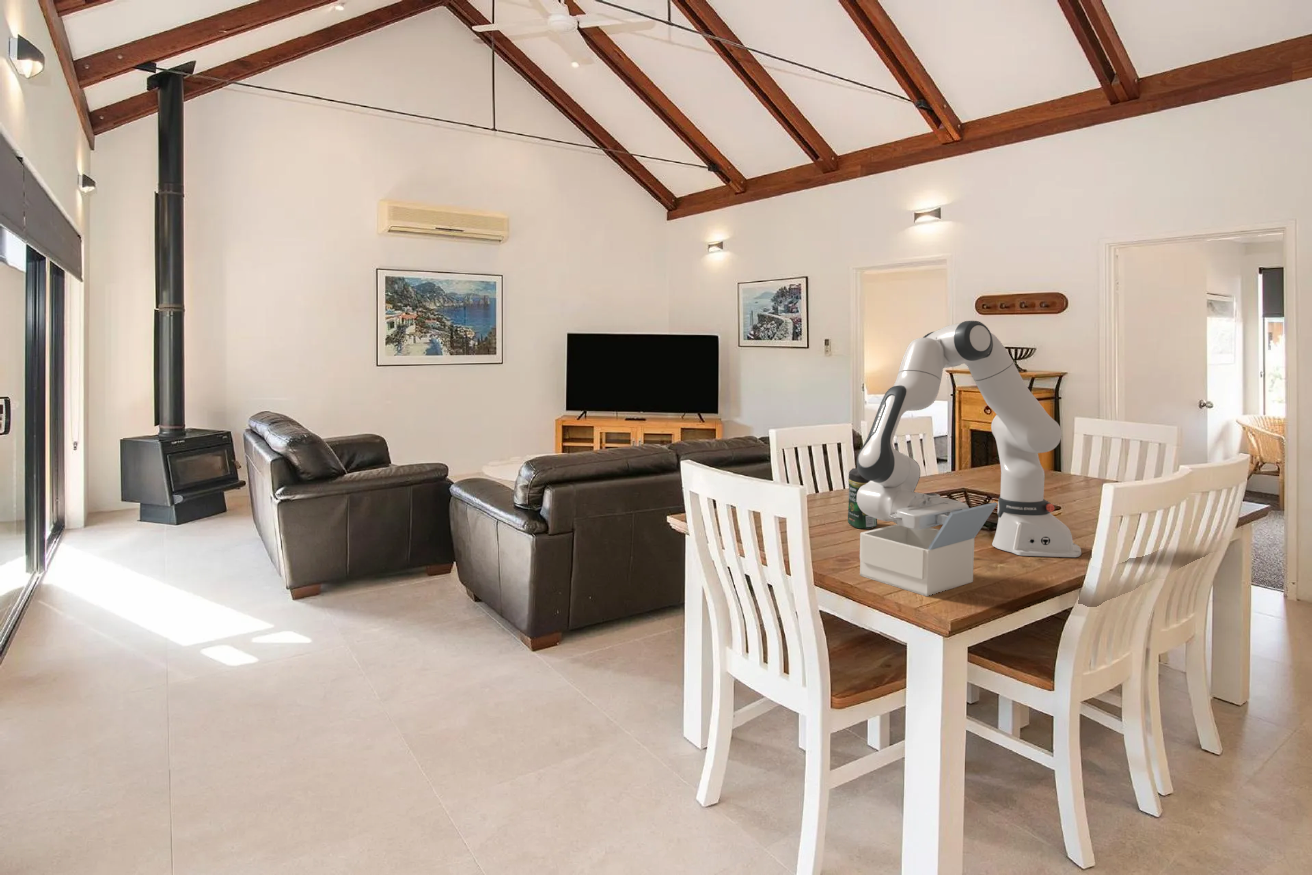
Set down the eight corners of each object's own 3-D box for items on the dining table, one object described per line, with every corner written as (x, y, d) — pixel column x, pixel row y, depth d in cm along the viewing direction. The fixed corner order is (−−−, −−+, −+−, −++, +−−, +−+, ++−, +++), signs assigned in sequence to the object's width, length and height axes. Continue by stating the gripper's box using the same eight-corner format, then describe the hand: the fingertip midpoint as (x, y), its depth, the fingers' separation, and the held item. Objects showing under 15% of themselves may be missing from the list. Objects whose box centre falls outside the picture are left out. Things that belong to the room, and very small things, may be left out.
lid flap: (950, 512, 173) (952, 514, 172) (995, 502, 183) (997, 503, 182) (928, 548, 179) (930, 549, 178) (972, 536, 188) (974, 537, 188)
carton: (856, 575, 196) (857, 533, 195) (905, 562, 207) (906, 522, 206) (925, 597, 179) (926, 551, 178) (974, 581, 190) (975, 537, 189)
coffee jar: (843, 523, 251) (844, 467, 248) (866, 521, 252) (867, 465, 250) (857, 530, 241) (858, 471, 239) (880, 528, 243) (882, 470, 241)
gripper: (885, 503, 186) (934, 514, 174) (939, 492, 197) (988, 502, 185) (884, 528, 187) (932, 541, 175) (937, 516, 198) (986, 528, 186)
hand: (961, 521), depth 180 cm, fingers closed, pressing on lid flap
